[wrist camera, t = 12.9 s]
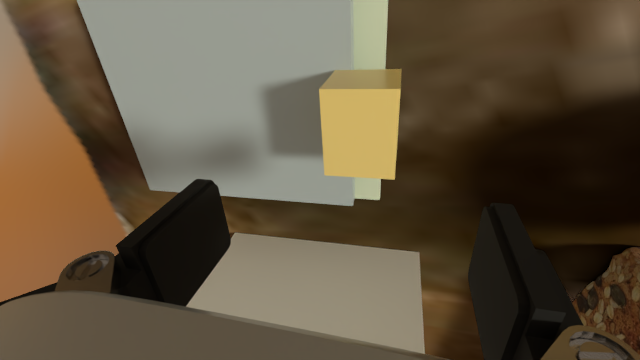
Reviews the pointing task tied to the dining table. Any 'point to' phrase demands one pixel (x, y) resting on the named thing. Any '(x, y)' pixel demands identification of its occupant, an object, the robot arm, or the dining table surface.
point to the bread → (615, 299)
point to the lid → (248, 95)
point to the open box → (320, 288)
